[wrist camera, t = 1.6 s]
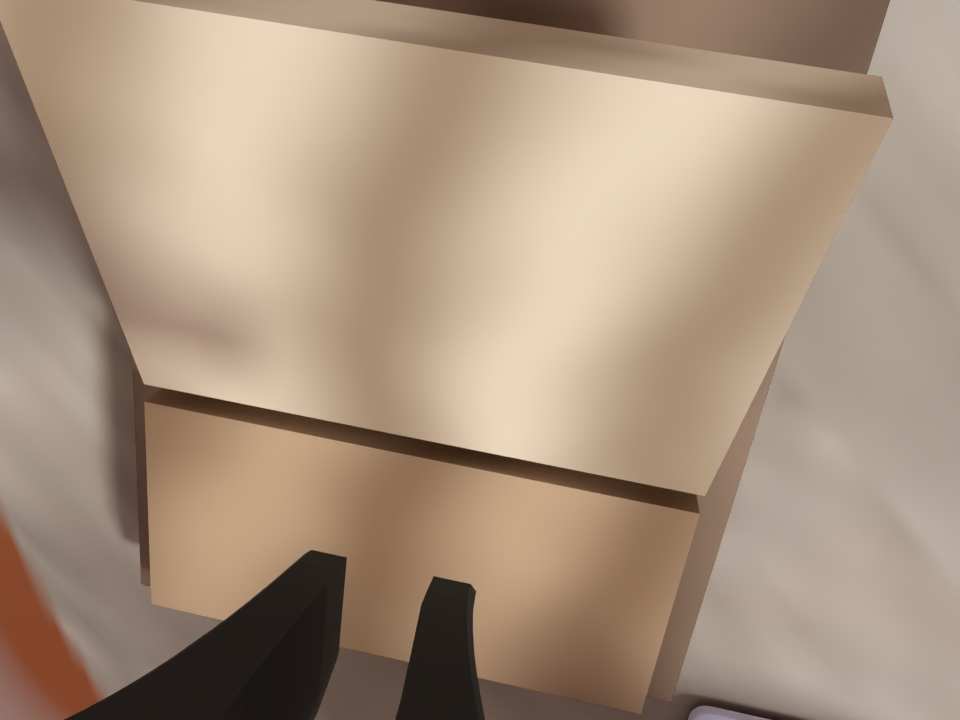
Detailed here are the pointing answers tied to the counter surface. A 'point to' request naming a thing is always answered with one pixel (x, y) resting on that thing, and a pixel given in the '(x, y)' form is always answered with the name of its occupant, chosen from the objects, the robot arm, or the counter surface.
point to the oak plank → (449, 216)
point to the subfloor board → (472, 467)
